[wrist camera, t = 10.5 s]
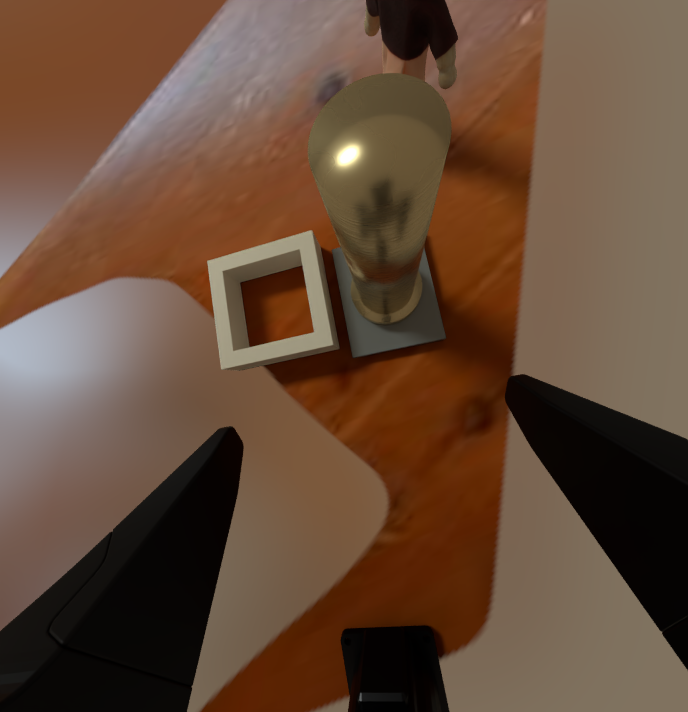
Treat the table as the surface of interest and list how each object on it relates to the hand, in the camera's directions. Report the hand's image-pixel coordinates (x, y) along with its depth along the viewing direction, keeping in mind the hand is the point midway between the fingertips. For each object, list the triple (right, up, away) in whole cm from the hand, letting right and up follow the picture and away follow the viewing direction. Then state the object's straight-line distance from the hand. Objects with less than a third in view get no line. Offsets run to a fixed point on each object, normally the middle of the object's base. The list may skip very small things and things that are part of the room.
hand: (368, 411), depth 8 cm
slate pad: (+3, +7, +12) cm, 14 cm away
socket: (-6, +6, +14) cm, 16 cm away
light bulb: (+2, +7, +12) cm, 14 cm away
